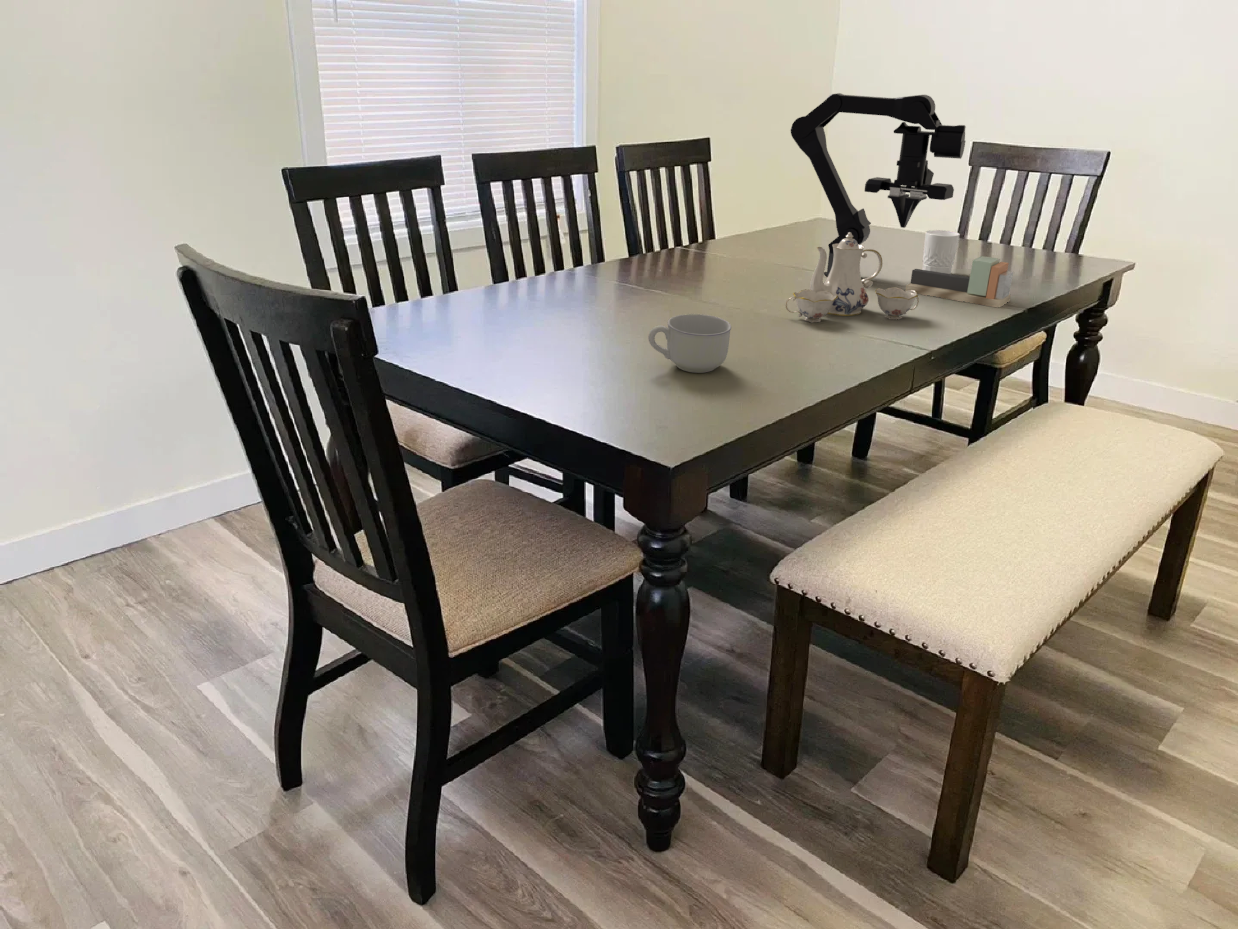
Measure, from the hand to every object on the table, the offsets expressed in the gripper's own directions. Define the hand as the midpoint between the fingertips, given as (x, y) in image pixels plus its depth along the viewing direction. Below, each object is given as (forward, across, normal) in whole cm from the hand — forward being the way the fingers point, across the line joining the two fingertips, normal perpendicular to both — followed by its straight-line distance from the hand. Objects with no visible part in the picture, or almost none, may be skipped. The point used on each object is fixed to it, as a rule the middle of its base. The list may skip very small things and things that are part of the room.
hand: (903, 227), depth 210 cm
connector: (+12, -25, +2) cm, 28 cm away
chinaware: (+13, -3, +33) cm, 36 cm away
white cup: (+13, -4, -17) cm, 21 cm away
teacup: (+13, +2, +83) cm, 84 cm away
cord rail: (+12, -15, +2) cm, 19 cm away
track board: (+13, -15, +2) cm, 20 cm away
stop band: (+12, -24, +2) cm, 26 cm away
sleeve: (+11, -20, +2) cm, 23 cm away
